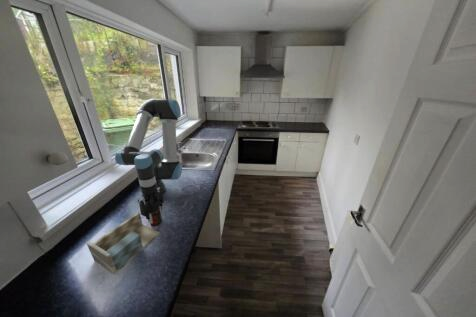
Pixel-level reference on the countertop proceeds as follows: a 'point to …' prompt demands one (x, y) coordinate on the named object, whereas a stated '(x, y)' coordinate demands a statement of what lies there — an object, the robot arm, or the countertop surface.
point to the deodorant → (155, 212)
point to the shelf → (124, 232)
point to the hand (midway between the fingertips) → (155, 218)
